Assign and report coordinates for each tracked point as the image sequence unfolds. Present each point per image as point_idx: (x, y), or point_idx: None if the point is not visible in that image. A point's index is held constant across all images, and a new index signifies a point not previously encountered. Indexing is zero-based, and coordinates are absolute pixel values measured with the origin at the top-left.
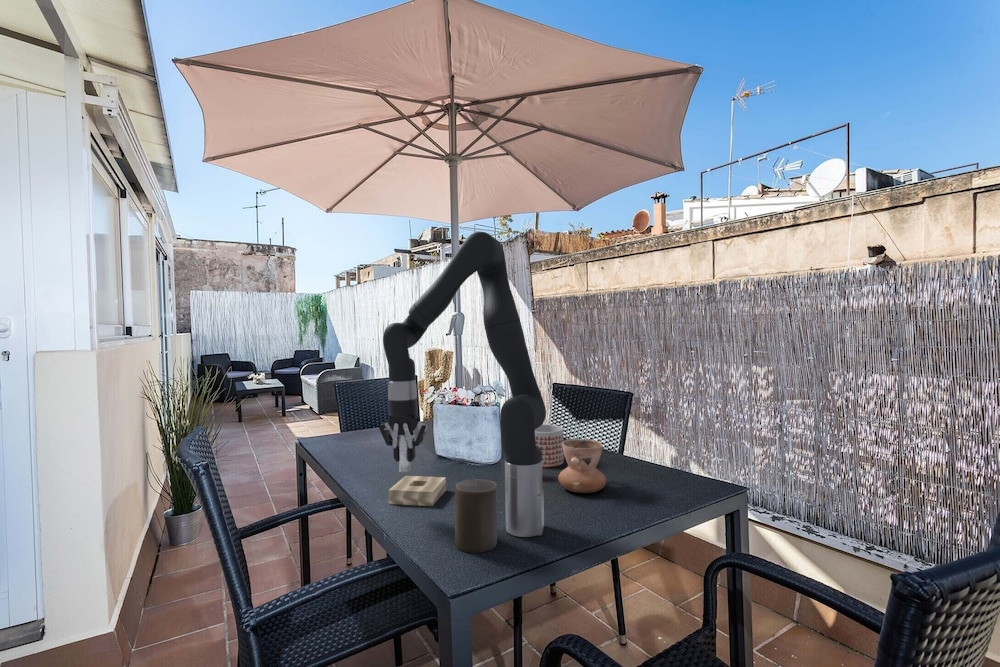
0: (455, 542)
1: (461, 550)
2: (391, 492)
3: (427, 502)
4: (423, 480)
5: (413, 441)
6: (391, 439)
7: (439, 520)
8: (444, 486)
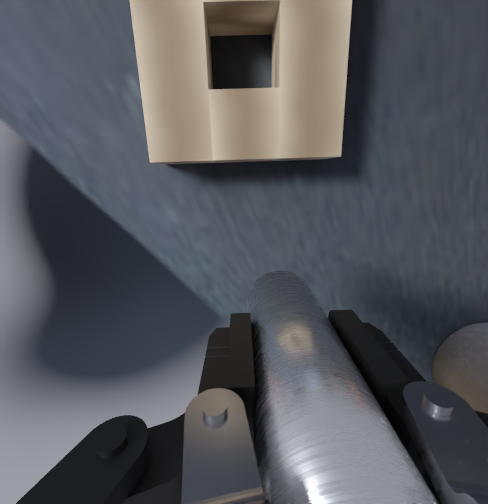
0: (436, 382)
1: None
2: (164, 162)
3: (308, 159)
4: None
5: (472, 458)
6: (108, 500)
7: (369, 261)
8: None
